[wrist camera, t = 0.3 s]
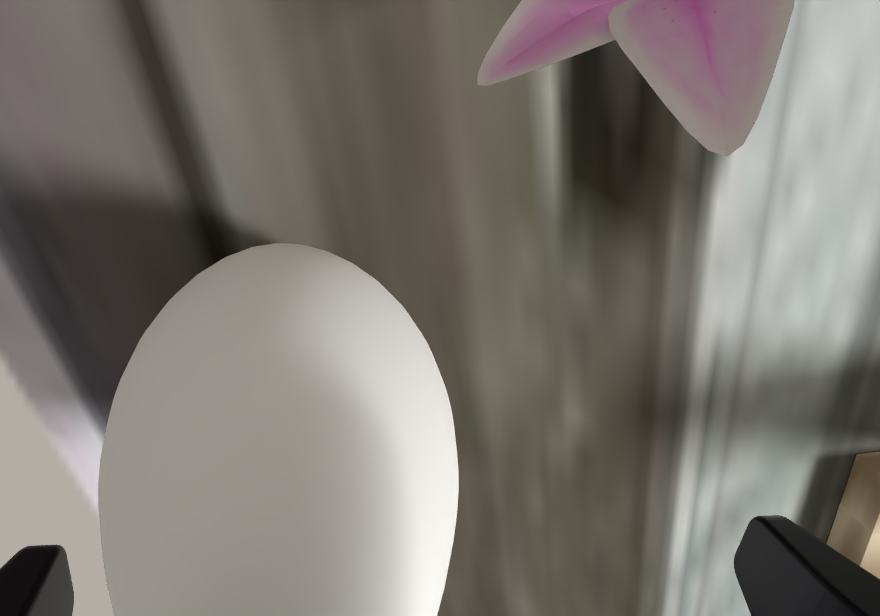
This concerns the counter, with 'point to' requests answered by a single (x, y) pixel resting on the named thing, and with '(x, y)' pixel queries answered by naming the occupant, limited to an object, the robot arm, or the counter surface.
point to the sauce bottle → (279, 449)
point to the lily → (661, 53)
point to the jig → (860, 515)
